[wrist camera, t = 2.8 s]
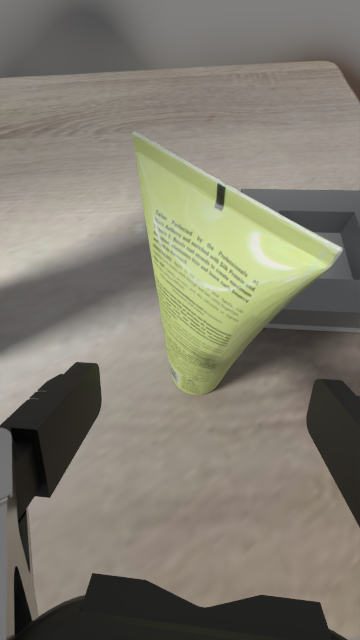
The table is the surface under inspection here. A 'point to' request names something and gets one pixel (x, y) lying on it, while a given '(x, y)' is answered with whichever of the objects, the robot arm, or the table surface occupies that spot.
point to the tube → (218, 264)
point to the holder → (345, 274)
